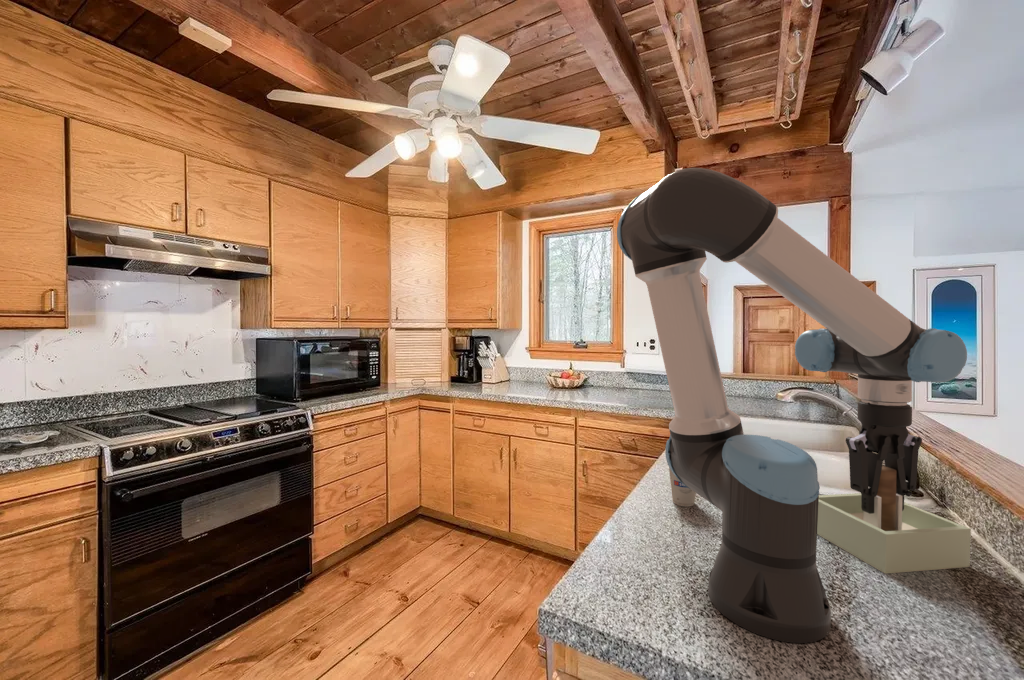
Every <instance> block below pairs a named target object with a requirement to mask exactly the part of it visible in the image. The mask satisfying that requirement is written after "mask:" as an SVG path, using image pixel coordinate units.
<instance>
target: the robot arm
mask: <svg viewBox="0 0 1024 680" xmlns="http://www.w3.org/2000/svg"><path fill="white" fill-rule="evenodd" d="M778 208H779V207H778V206H777V205H776V204H775V203H773V202H772V201H771V200H769V199H768V198H767V197H765V196H764V195H763V194H761V193H760V192H759V191H757V190H756V189H754V188H752V187H751V186H749V185H747V184H745V183H744V182H742V181H740V180H738V179H737V178H734V177H732V176H730V175H728V174H725V173H723V172H721V171H716V170H713V169H709V168H702V167H689V168H682V169H678V170H676V171H674V172H671V173H670V174H667V175H666V176H664V177H663V178H662V179H661V180H660V181H659V182H657V183H656V184H655V185H653V186H652V187H650V188H649V189H648V190H646V191H645V192H643V193H640V194H639V195H638V196H636V197H635V198H634V199H632V201H631V202H630V203H629V204H628V205H627V206H626V208H625V209H624V210H623V212H622V213H621V215H620V218H619V220H618V222H617V227H616V240H617V243H618V246H619V248H620V250H621V252H622V253H623V254H624V256H626V257H627V258H628V259H629V260H631V262H632V267H633V271H634V275H635V277H636V278H637V279H639V280H641V281H642V282H643V283H645V284H646V285H645V286H647V292H648V296H649V301H650V305H651V310H652V314H653V319H654V324H655V328H656V332H657V336H658V340H659V341H658V343H659V346H660V350H661V355H662V359H663V364H664V369H665V374H666V379H667V382H668V386H669V391H670V392H669V393H670V396H671V401H672V405H673V406H672V407H673V409H674V417H673V418H672V419H671V421H670V422H669V423H668V429H669V433H670V434H669V438H668V440H667V439H666V443H665V450H664V451H665V459H666V462H667V465H668V469H669V468H670V470H671V471H672V473H673V474H674V475H675V476H676V477H677V478H678V479H679V481H680V482H681V483H682V484H683V485H685V486H686V487H687V488H689V489H691V490H692V491H694V492H696V494H697V495H698V496H700V497H701V498H703V499H704V500H705V501H707V502H708V503H710V504H711V505H713V507H714V506H715V507H716V508H717V509H719V510H721V512H722V513H721V515H722V517H721V519H722V520H721V521H722V523H721V525H722V526H721V536H722V538H721V545H720V547H719V549H718V551H717V555H716V557H715V560H714V563H713V566H712V569H711V570H710V571H709V574H708V591H707V592H708V597H709V600H710V601H711V603H712V604H713V606H714V607H715V608H716V610H717V611H718V612H719V613H721V614H722V615H723V616H724V617H725V618H726V619H728V620H729V621H731V622H733V623H734V624H735V625H738V626H739V627H741V628H743V629H745V630H748V631H749V632H751V633H754V634H756V635H759V636H762V637H765V638H767V639H771V640H776V641H780V642H786V643H797V644H798V643H799V644H803V643H805V644H806V643H813V642H818V641H820V640H822V639H824V638H826V637H827V636H828V635H829V633H830V632H831V626H832V624H831V623H832V620H831V619H832V610H831V605H830V602H829V600H828V598H827V594H826V591H825V588H824V585H823V582H822V578H821V576H820V572H819V570H818V567H817V546H818V545H817V544H818V534H817V524H818V501H819V495H820V482H819V480H818V467H817V463H816V461H815V459H814V458H813V456H811V455H810V454H809V453H808V452H807V451H806V450H804V449H803V448H801V447H800V446H797V445H795V444H793V443H790V442H789V441H785V440H782V439H779V438H778V439H774V438H771V436H764V435H758V434H745V433H744V429H743V425H742V420H741V416H740V415H739V414H737V413H736V412H734V411H733V410H732V409H729V405H728V401H727V398H726V397H727V396H726V392H725V387H724V382H723V379H722V374H721V373H722V372H721V368H720V365H719V360H718V356H717V350H716V346H715V340H714V336H713V331H712V326H711V321H710V316H709V311H708V307H707V303H706V298H705V292H704V289H703V283H702V279H701V274H700V271H701V269H702V267H703V265H704V264H705V262H706V261H707V254H706V253H709V254H711V255H713V256H715V258H717V259H719V260H720V261H721V262H723V263H732V262H735V263H737V264H738V265H740V266H741V267H742V268H743V269H745V270H746V271H747V272H749V273H751V274H752V275H753V276H754V277H755V278H757V279H759V280H760V281H761V282H763V283H764V284H765V285H767V286H768V287H770V288H771V289H773V291H775V292H776V293H778V294H779V295H781V296H782V297H783V298H785V299H786V300H787V301H788V302H790V303H792V304H793V305H794V306H796V307H797V308H798V309H800V311H802V312H804V314H806V315H808V316H809V317H810V318H812V319H813V320H814V321H816V322H817V323H819V324H820V325H821V326H823V327H824V328H818V329H809V330H805V331H803V332H802V333H801V334H800V335H799V336H798V337H797V339H796V341H795V344H794V350H795V351H794V356H795V358H796V361H797V363H798V364H799V365H800V366H801V367H802V368H803V369H804V370H807V371H810V372H821V373H827V372H837V373H838V372H839V373H847V374H857V398H858V399H860V401H858V402H857V420H858V421H859V422H860V424H861V427H860V430H859V433H858V435H856V436H855V437H851V436H847V437H846V438H845V443H846V446H847V448H848V459H849V461H848V462H849V482H850V486H849V487H850V489H852V490H853V491H856V492H857V493H861V502H862V503H861V504H862V505H861V508H862V511H864V514H863V521H865V522H867V523H869V524H872V525H874V526H876V527H878V528H880V529H881V497H879V496H877V492H878V487H879V481H880V475H881V470H882V466H883V464H884V465H885V467H890V468H893V469H895V470H896V471H897V474H896V528H895V530H896V531H897V530H902V511H903V510H904V502H905V496H906V497H911V496H912V494H913V492H914V491H916V489H917V479H918V478H917V477H918V464H919V463H918V462H919V450H920V448H921V444H922V442H923V439H922V437H921V436H916V435H912V434H910V433H909V431H908V427H910V426H912V424H913V407H912V406H911V404H909V403H911V402H913V400H912V399H913V397H912V395H913V394H912V393H913V390H912V388H913V382H915V383H921V382H925V383H938V384H939V383H946V382H949V381H951V380H955V378H957V377H958V376H959V375H960V374H961V373H962V371H963V369H964V367H965V366H966V365H967V364H966V363H967V359H968V350H967V346H966V344H965V342H964V340H963V339H962V337H960V336H959V334H957V333H955V332H953V331H950V330H946V329H937V328H933V327H932V328H931V327H930V328H928V329H924V328H922V327H920V326H919V325H918V324H916V322H914V321H912V320H911V319H910V318H908V317H907V316H906V315H904V314H903V313H902V312H900V311H899V310H898V309H897V308H896V307H894V306H893V305H891V304H890V303H889V302H887V301H886V300H885V299H884V298H883V297H881V296H880V295H879V294H877V292H875V291H874V290H872V289H871V288H869V287H868V286H867V285H865V283H863V282H862V281H861V280H860V279H858V278H857V277H855V276H854V275H852V274H851V273H850V272H849V271H848V270H846V269H845V268H843V267H842V266H841V265H840V264H838V263H837V262H836V261H835V260H833V259H832V258H831V257H829V256H828V255H827V254H826V253H824V252H823V251H821V250H820V249H819V248H818V247H817V246H815V245H814V244H813V243H811V242H810V241H808V239H806V238H805V237H803V236H802V235H801V234H799V233H798V232H797V231H795V230H794V229H793V228H792V227H791V226H789V225H788V224H787V223H785V222H784V221H783V220H781V219H780V218H779V215H778V214H779V209H778ZM911 491H913V492H911Z"/></svg>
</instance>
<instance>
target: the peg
mask: <svg viewBox="0 0 1024 680" xmlns="http://www.w3.org/2000/svg"><path fill="white" fill-rule="evenodd" d="M896 474H897V471H896V470H895V469H893V468H890V467H885V466H884V465H882V470H881V475H880V481H879V487H878V492H877V496H879V497H881V529H882V530H884V531H895V528H896Z"/></svg>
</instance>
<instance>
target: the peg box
mask: <svg viewBox="0 0 1024 680" xmlns="http://www.w3.org/2000/svg"><path fill="white" fill-rule="evenodd" d="M861 503H862V502H861V492H855V493H839V494H819V501H818V524H817V536H819V537H821V538H823V539H825V540H826V541H828V542H830V543H831V544H833V545H834V546H837V547H839V548H841V549H842V550H843V551H845V552H847V553H849V554H850V555H851V556H854V557H855V558H857V559H859V560H861V561H862V562H864V563H866V564H867V565H869V566H871V567H873V568H875V569H876V570H878V571H879V572H881V573H883V574H886V575H887V574H897V573H899V574H901V573H911V572H922V571H924V572H926V571H934V570H947V569H948V570H949V569H950V570H951V569H958V568H960V569H961V568H970V564H971V562H970V561H971V559H970V558H971V536H972V535H971V533H972V528H971V527H967V526H965V525H962V524H960V523H958V522H955V521H952V520H950V519H947V518H945V517H942V516H940V515H938V514H934V513H932V512H929V511H927V510H925V509H922V508H920V507H917V506H914V505H911V504H910V503H907V502H905V501H904V510H903V511H902V530H897V531H896V530H895V531H884V530H882V529H880V528H878V527H876V526H874V525H872V524H869V523H867V522H865V521H863V514H864V511H862V508H861V505H862V504H861Z"/></svg>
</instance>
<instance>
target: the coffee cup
mask: <svg viewBox="0 0 1024 680" xmlns="http://www.w3.org/2000/svg"><path fill="white" fill-rule="evenodd" d="M668 471H669V478H670V488H671V489H670V490H671V497H672V502H673V503H674V504H675V505H677V506H679V507H680V506H681V507H686V508H687V507H689V508H690V507H693V506H695V501H696V494H697V493H696V492H694V491H692V490H691V489H689V488H687V487H686V486H685V485H683V484H682V483H681V482H680V481H679V479H678V478H677V477H676V476H675V475H674V474H673V473H672V471H671V470H670V468H669V467H668Z"/></svg>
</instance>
